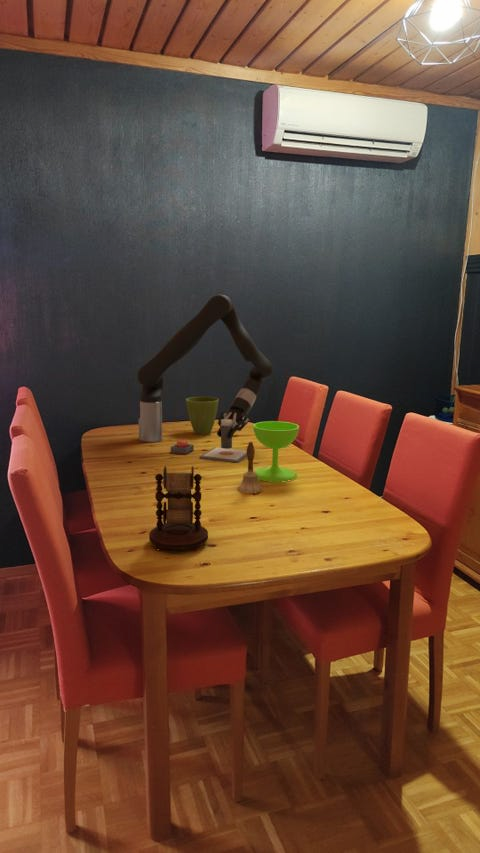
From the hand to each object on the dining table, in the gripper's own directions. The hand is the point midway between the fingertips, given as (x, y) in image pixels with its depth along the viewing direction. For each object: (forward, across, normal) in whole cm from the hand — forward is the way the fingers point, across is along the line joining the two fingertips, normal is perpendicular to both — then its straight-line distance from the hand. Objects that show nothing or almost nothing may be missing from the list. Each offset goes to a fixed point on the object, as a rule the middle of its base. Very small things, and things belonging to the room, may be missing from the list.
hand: (223, 436), depth 227 cm
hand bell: (+23, +34, -12) cm, 42 cm away
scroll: (+55, +47, -44) cm, 85 cm away
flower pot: (-11, -34, +23) cm, 43 cm away
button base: (+10, -17, +2) cm, 20 cm away
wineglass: (+11, +30, +1) cm, 32 cm away
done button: (+9, -17, 0) cm, 19 cm away
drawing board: (+4, 0, +7) cm, 8 cm away
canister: (+2, 0, +5) cm, 5 cm away
